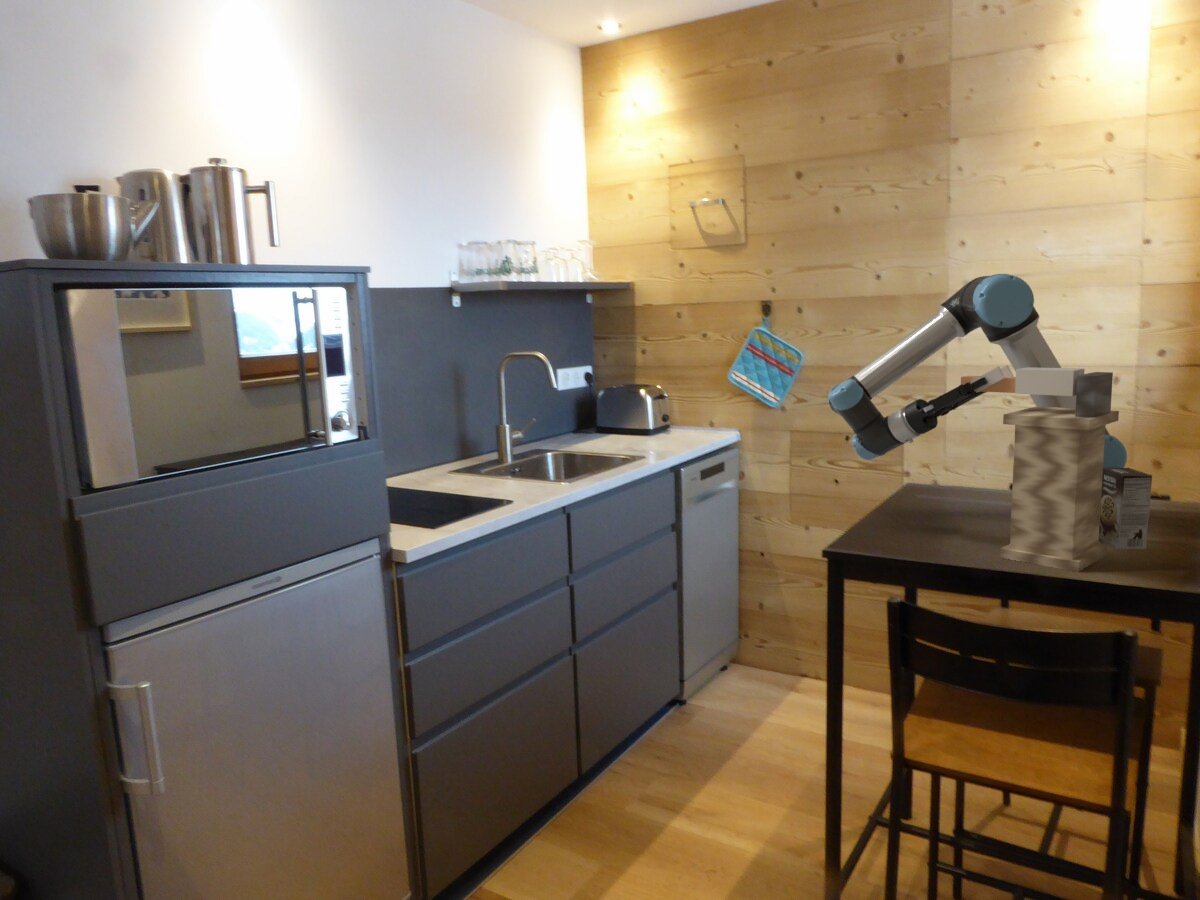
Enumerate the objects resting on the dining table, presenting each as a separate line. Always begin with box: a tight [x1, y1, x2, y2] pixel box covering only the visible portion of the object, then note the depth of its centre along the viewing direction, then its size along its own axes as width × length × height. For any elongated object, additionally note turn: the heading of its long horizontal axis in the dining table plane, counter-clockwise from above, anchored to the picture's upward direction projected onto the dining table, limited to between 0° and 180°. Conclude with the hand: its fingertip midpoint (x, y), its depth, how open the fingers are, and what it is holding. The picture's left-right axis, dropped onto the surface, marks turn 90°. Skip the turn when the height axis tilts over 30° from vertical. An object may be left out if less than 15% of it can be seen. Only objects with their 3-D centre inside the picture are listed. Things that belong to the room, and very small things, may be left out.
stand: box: [999, 371, 1120, 573], centre depth 178 cm, size 16×17×38 cm
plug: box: [960, 367, 1086, 396], centre depth 182 cm, size 24×6×5 cm, turn 43°
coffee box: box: [1099, 467, 1153, 551], centre depth 187 cm, size 9×6×16 cm
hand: (1005, 371), depth 184 cm, fingers closed on plug, 4 cm apart
